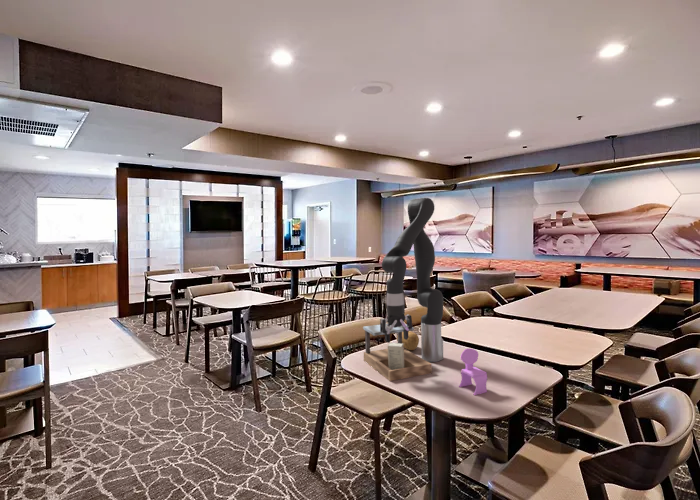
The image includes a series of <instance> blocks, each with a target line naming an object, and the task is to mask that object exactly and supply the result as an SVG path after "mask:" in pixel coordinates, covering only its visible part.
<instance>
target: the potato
mask: <svg viewBox="0 0 700 500" xmlns="http://www.w3.org/2000/svg"><path fill="white" fill-rule="evenodd" d="M408 336H409V337H408V339H407V340H405V339H404V334H403V332H402V344H403V345H404V349H406V350H408V351H410V352H412V351H414V350H416V349H417V348H418V346H419V343H420V338H419V335H418V334H417V333H415V332H414V331H408ZM396 341H397V342H398V334H397V335H396Z"/></svg>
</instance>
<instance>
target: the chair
mask: <svg viewBox="0 0 700 500" xmlns="http://www.w3.org/2000/svg"><path fill="white" fill-rule="evenodd" d="M478 359H479V352H478V351H477V350H476V349H474V348H469V347H468V348H465V349H464V350H463V351H462V352H461V354H460V360H461V362H463V363H464V364H465V368H462V369H461V371H460V375H461V380H460V383H459V386H458V388H461V387H467V386H470V385H471V386H472V385H473V383H472V382H473V381H474V383H475V390H474V392H473V396H477V395H481V394H484V393H488V389H487V381H488V374H487V373H488V372H487V371H485V370H482V369H480V368H478V367H476V366H474V364H475V363H476V362H478ZM472 379H473V380H472Z"/></svg>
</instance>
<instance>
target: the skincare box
mask: <svg viewBox="0 0 700 500" xmlns="http://www.w3.org/2000/svg"><path fill="white" fill-rule="evenodd" d="M387 344H388V345H387V349H388V367H389V368H390V369H391V370H394V369H400V368H405V367H404V349H405V348H404V345H403V344H401V343H398V342H390V343H387Z"/></svg>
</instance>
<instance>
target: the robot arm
mask: <svg viewBox="0 0 700 500" xmlns="http://www.w3.org/2000/svg"><path fill="white" fill-rule="evenodd" d="M433 214H435V202H434V200H433V199H431V198H429V197H420V198H414V199H411V200H410V201H409V202H408V203H407V216H408V221H409V225H408V226H406V228H405V229H403V230H402V231H401V233H400V234H399V235H398V237H397V239H396V242H395V243H394V245H393V246H392V247H391V249H390V250H389V251H387V253H386V255H385V256H384V257H383V259H382V262H381V268H382V270H383V272H385V273H390V274H393V276H392V278H388V279H387V280H386V300H385V301H386V315H387V317H385V318H383V317H381V318H380V321H379V322H380V323H379V325H380V332H382V333H385V334H384V340H385V342H386V343H387V344H389V343H391V337H390V336H391V335H390V334H391V333H390V331H391V330H392V329H393V327H394V328H396V327H401V326H402V328H403V329H404V330H403V334H404V339H405V340H407V339H408V337H409V336H408V330H409V329H412V327H413V320H412V315H411V314H408V313H407V314H405V313H406V311H405V310H406V309H405V308H406V307H405V294H404V281H405V275H406V273H407V268H408V267H407V266H408V265H407V261H406V259H405V258H404V257H406V256H408V255H409V253H410V252H411V250H412V247H413V253H414V254H413V255H414V263H415V273H416V297H417V302H418V304H419V305H420V306H421V307H423V308H426V314H423V315H422V316H421V318H420V328H421V329H420V330H421V331H420V332H421V333H420V334H421V335H420V336H421V337H420V338H421V339H420V341H421V345H420V346H421V358H422V359H424V360H426V361H427V362H429V363H431V362H432V363H433V362H435V363H436V362H440V361H442V360H444V339H443V338H442V319H443V316H444V294H443V293H442V291H440V290H439V289H436V288H432V286H431V274H432V270H433V268H434V266H435V263H436V262H435V261H436V254H435V247H434V244H433V242H432V240H431V238H429V236H428V234H427V233H426V232H425V230H424V228H425V226H426V224H427V223H428V222H430V220H431V217H432V216H433ZM405 321H406V323H405ZM386 324H387V326H386ZM406 324H407V326H406ZM385 326H386V329H385ZM389 333H390V334H389Z"/></svg>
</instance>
